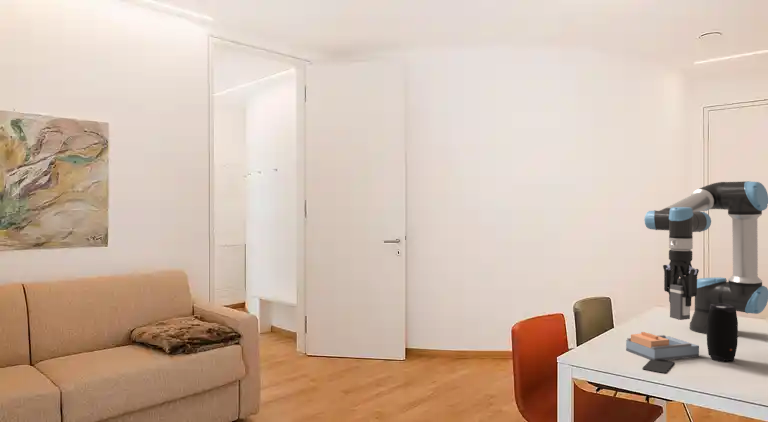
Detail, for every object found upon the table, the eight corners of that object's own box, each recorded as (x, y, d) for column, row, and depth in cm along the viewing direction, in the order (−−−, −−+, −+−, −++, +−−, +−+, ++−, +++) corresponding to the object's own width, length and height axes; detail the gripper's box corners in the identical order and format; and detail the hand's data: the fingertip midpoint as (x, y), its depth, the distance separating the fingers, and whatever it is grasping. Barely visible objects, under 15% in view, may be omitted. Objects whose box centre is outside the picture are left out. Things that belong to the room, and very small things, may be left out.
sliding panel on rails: (668, 346, 212) (668, 334, 212) (698, 356, 199) (699, 343, 198) (626, 350, 206) (626, 337, 206) (654, 361, 193) (654, 347, 193)
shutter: (648, 339, 207) (648, 330, 206) (668, 346, 197) (669, 336, 197) (630, 341, 204) (630, 331, 204) (651, 348, 195) (651, 338, 195)
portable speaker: (740, 363, 190) (741, 308, 189) (710, 361, 193) (711, 306, 192) (732, 356, 198) (733, 303, 198) (703, 354, 201) (704, 302, 200)
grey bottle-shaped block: (679, 316, 201) (679, 277, 200) (690, 318, 197) (690, 279, 196) (669, 317, 199) (670, 278, 199) (680, 320, 195) (680, 280, 195)
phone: (641, 368, 184) (652, 357, 195) (641, 370, 184) (651, 360, 195) (665, 373, 179) (675, 361, 191) (665, 375, 179) (675, 364, 191)
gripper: (653, 247, 204) (652, 309, 205) (693, 252, 188) (692, 319, 188) (668, 246, 207) (668, 307, 207) (709, 251, 190) (709, 317, 191)
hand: (679, 313), depth 198 cm, fingers closed on grey bottle-shaped block, 4 cm apart
